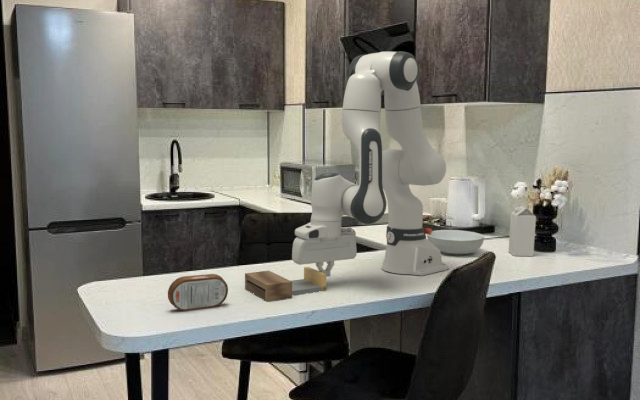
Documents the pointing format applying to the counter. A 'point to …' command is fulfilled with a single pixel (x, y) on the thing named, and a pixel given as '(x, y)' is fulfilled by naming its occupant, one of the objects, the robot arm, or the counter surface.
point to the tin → (197, 292)
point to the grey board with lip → (309, 282)
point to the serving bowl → (456, 241)
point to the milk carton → (522, 232)
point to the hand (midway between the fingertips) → (324, 276)
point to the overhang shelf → (268, 285)
